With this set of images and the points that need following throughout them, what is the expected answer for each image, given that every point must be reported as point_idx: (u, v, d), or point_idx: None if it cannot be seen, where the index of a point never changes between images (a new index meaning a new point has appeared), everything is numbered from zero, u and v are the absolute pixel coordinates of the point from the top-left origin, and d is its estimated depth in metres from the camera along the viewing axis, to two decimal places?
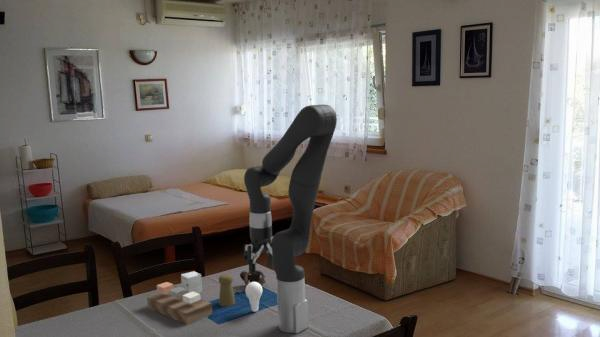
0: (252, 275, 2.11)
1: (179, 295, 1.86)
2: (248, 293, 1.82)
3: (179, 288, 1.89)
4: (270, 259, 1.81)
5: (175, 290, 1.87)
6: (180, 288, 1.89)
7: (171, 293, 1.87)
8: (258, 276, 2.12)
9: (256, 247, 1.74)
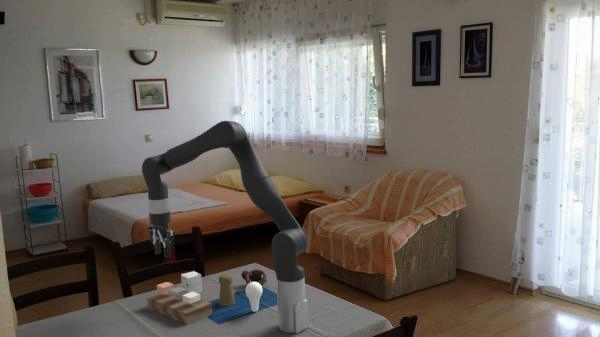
0: (253, 275, 2.12)
1: (179, 295, 1.86)
2: (248, 293, 1.82)
3: (179, 288, 1.89)
4: (159, 246, 1.93)
5: (175, 290, 1.87)
6: (180, 288, 1.89)
7: (171, 293, 1.87)
8: (259, 275, 2.12)
9: None
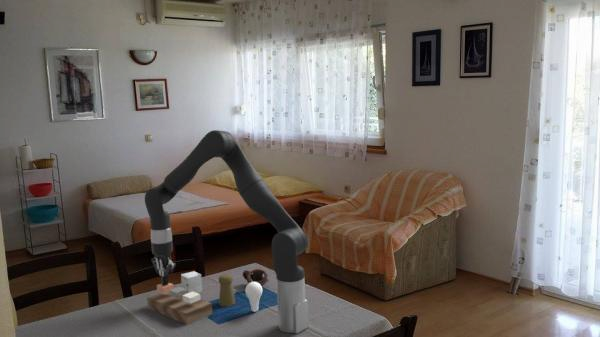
0: (255, 274, 2.12)
1: (179, 295, 1.86)
2: (248, 293, 1.82)
3: (179, 288, 1.89)
4: None
5: (175, 290, 1.87)
6: (180, 288, 1.89)
7: (171, 293, 1.87)
8: (261, 275, 2.13)
9: None
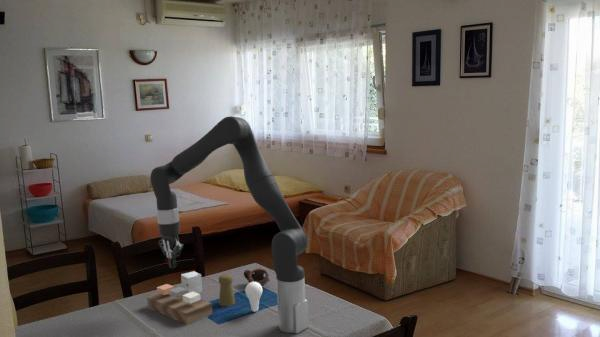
0: (256, 274, 2.13)
1: (179, 295, 1.86)
2: (248, 293, 1.82)
3: (179, 288, 1.89)
4: None
5: (175, 290, 1.87)
6: (180, 288, 1.89)
7: (171, 293, 1.87)
8: (262, 275, 2.13)
9: None
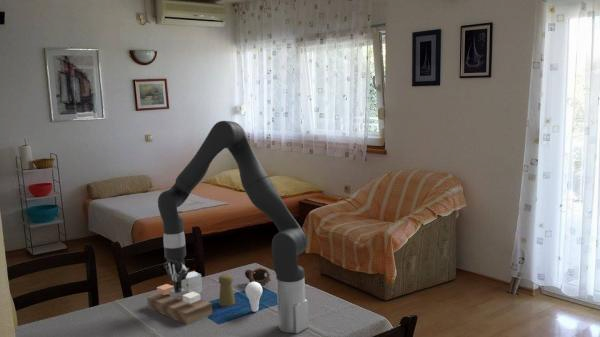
0: (257, 273, 2.13)
1: (179, 296, 1.86)
2: (248, 293, 1.82)
3: None
4: None
5: (175, 291, 1.87)
6: None
7: (171, 294, 1.87)
8: (263, 274, 2.14)
9: None
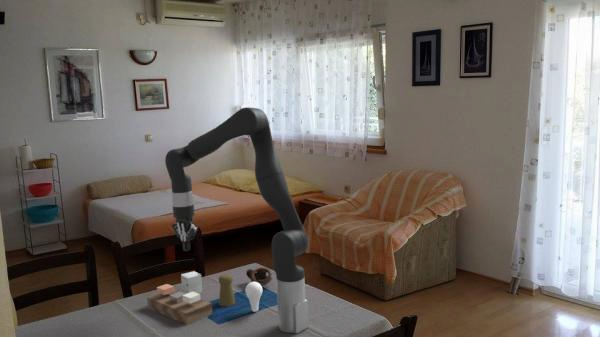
0: (258, 273, 2.14)
1: (179, 300, 1.86)
2: (248, 293, 1.82)
3: (179, 293, 1.89)
4: None
5: (175, 295, 1.87)
6: (180, 293, 1.89)
7: (171, 298, 1.87)
8: (264, 274, 2.14)
9: None
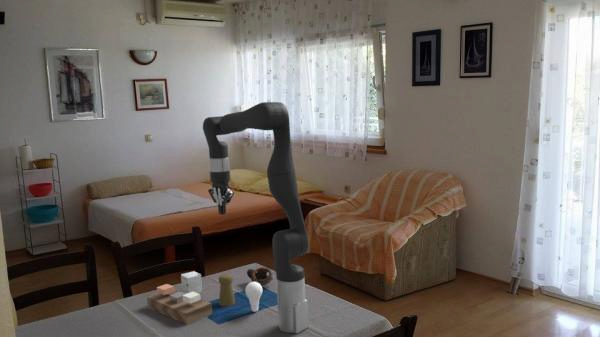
0: (259, 272, 2.14)
1: (179, 300, 1.86)
2: (248, 293, 1.82)
3: (179, 293, 1.89)
4: None
5: (175, 295, 1.87)
6: (180, 293, 1.89)
7: (171, 298, 1.87)
8: (265, 273, 2.15)
9: None
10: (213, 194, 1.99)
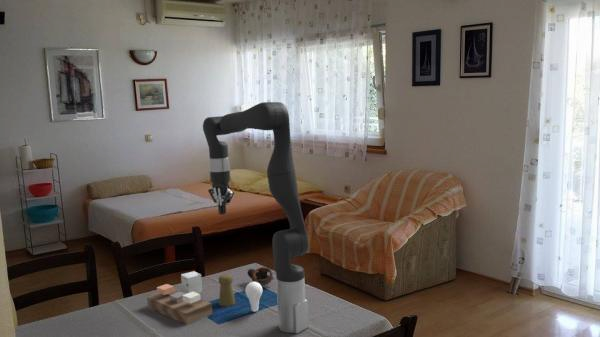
0: (259, 272, 2.14)
1: (179, 300, 1.86)
2: (248, 293, 1.82)
3: (179, 293, 1.89)
4: None
5: (175, 295, 1.87)
6: (180, 293, 1.89)
7: (171, 298, 1.87)
8: (265, 273, 2.15)
9: None
10: (213, 194, 1.99)
